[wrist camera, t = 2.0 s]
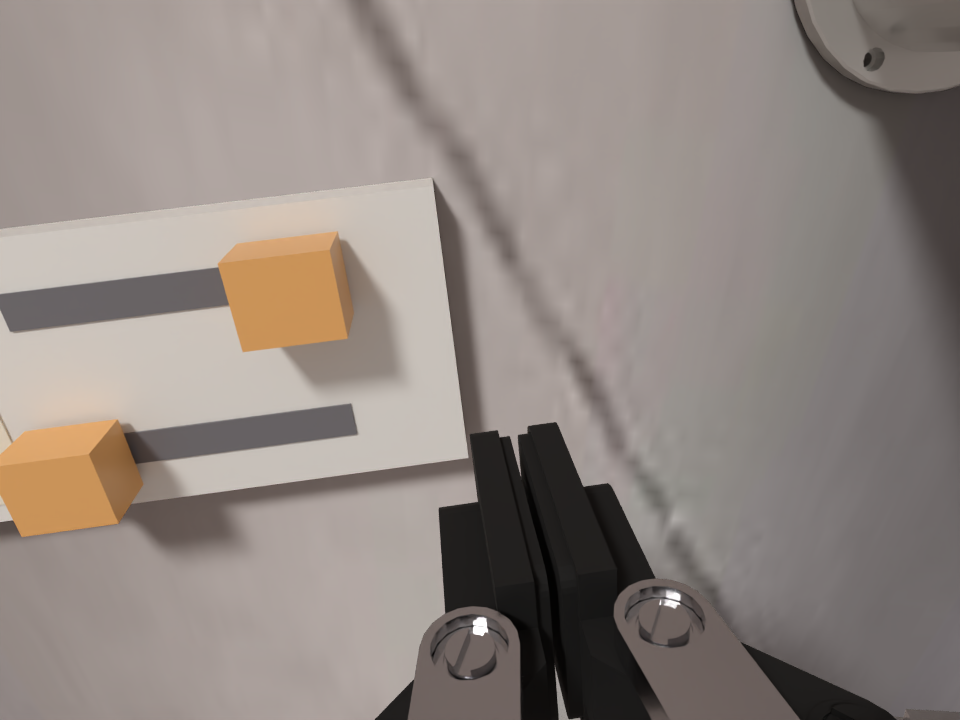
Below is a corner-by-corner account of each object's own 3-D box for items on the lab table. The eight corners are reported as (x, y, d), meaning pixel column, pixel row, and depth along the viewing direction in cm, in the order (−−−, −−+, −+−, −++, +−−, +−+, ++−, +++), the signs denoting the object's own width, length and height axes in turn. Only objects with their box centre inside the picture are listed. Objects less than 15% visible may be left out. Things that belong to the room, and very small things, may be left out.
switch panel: (431, 177, 28) (433, 186, 26) (465, 436, 33) (468, 460, 31) (-198, 252, 26) (-248, 267, 25) (-55, 506, 32) (-85, 535, 30)
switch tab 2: (337, 231, 26) (329, 250, 23) (354, 313, 27) (347, 338, 25) (236, 243, 26) (217, 263, 23) (258, 324, 27) (242, 352, 25)
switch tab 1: (117, 419, 28) (88, 454, 26) (143, 484, 30) (118, 523, 27) (24, 431, 28) (-14, 467, 26) (55, 496, 30) (21, 537, 27)
